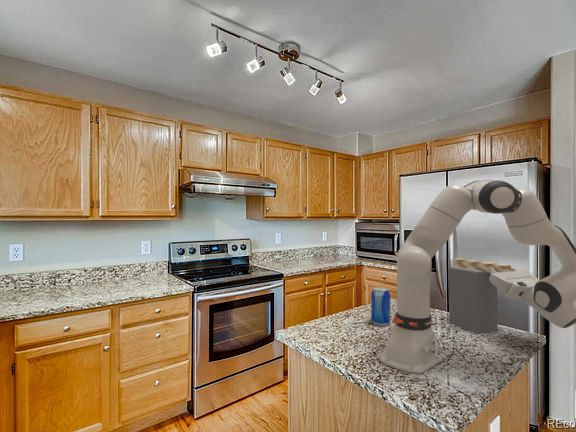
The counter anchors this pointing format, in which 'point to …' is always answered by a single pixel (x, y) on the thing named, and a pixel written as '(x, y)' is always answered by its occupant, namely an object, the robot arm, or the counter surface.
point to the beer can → (380, 306)
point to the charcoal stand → (472, 300)
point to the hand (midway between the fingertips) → (497, 267)
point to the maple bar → (480, 265)
